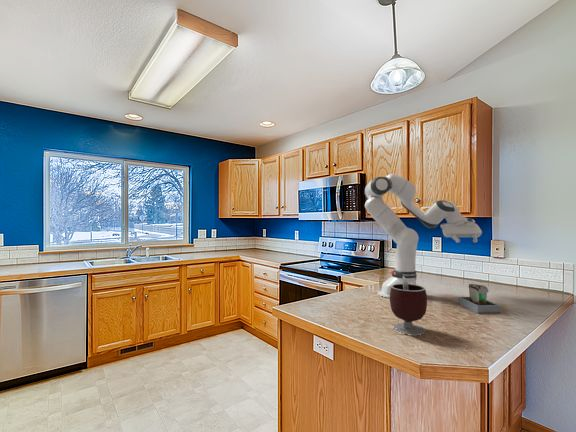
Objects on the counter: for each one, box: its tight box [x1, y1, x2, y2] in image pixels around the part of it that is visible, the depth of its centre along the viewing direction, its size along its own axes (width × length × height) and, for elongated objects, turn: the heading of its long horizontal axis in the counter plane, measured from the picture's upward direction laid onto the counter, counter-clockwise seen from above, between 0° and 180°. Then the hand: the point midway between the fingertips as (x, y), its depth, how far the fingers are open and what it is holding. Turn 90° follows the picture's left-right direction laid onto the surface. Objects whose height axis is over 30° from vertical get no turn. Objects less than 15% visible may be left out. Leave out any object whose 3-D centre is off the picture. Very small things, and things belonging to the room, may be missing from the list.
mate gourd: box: [389, 276, 428, 336], centre depth 124 cm, size 16×14×20 cm
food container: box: [468, 283, 489, 305], centre depth 152 cm, size 12×6×10 cm, turn 171°
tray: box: [457, 296, 501, 314], centre depth 152 cm, size 11×17×4 cm, turn 0°
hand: (467, 241), depth 168 cm, fingers open, 8 cm apart
